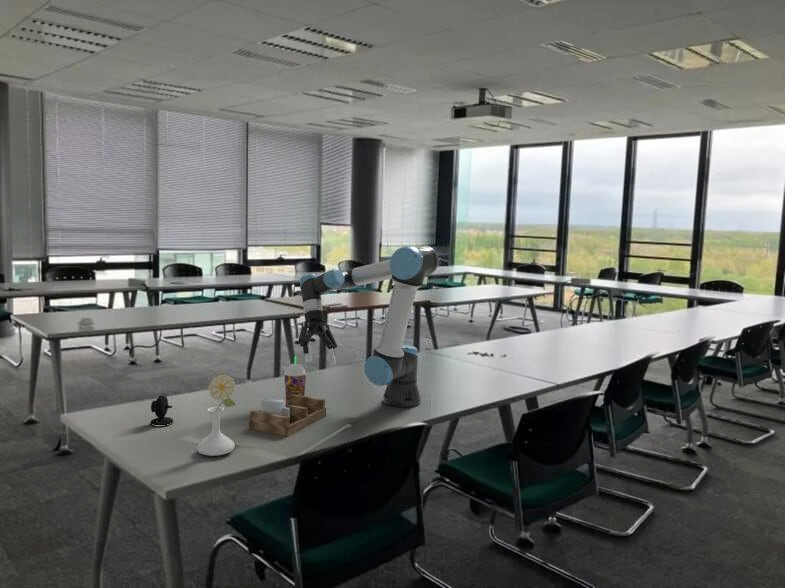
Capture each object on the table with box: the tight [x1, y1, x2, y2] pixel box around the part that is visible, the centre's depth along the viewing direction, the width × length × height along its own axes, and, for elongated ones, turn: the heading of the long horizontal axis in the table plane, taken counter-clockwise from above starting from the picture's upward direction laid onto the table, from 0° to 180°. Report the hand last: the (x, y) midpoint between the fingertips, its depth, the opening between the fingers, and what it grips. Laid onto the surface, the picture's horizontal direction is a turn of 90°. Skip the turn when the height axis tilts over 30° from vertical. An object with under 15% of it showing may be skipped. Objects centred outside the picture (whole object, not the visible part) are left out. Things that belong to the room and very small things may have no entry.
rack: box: [248, 394, 327, 437], centre depth 218 cm, size 16×24×8 cm, turn 155°
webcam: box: [150, 395, 174, 425], centre depth 217 cm, size 8×8×10 cm
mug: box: [261, 396, 290, 421], centre depth 213 cm, size 10×8×9 cm
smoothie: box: [283, 355, 307, 403], centre depth 239 cm, size 8×8×20 cm
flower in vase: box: [196, 374, 237, 457], centre depth 191 cm, size 13×11×25 cm
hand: (321, 363), depth 242 cm, fingers open, 13 cm apart
